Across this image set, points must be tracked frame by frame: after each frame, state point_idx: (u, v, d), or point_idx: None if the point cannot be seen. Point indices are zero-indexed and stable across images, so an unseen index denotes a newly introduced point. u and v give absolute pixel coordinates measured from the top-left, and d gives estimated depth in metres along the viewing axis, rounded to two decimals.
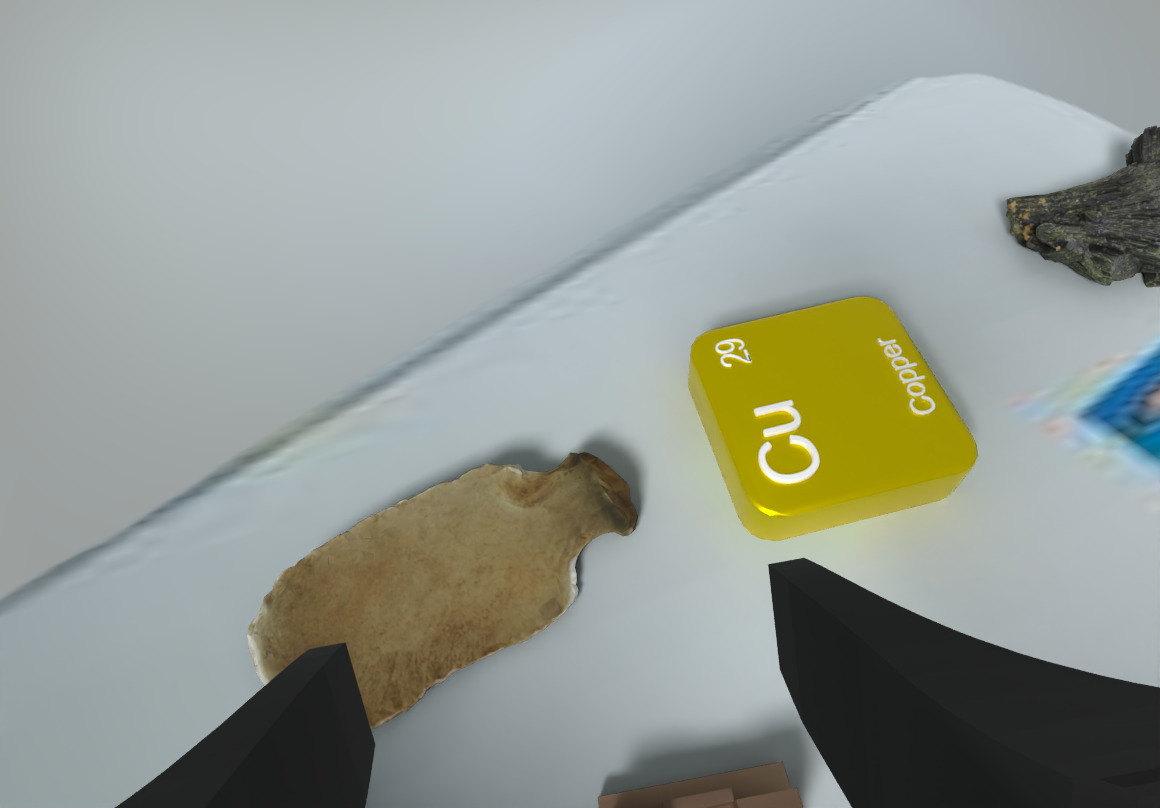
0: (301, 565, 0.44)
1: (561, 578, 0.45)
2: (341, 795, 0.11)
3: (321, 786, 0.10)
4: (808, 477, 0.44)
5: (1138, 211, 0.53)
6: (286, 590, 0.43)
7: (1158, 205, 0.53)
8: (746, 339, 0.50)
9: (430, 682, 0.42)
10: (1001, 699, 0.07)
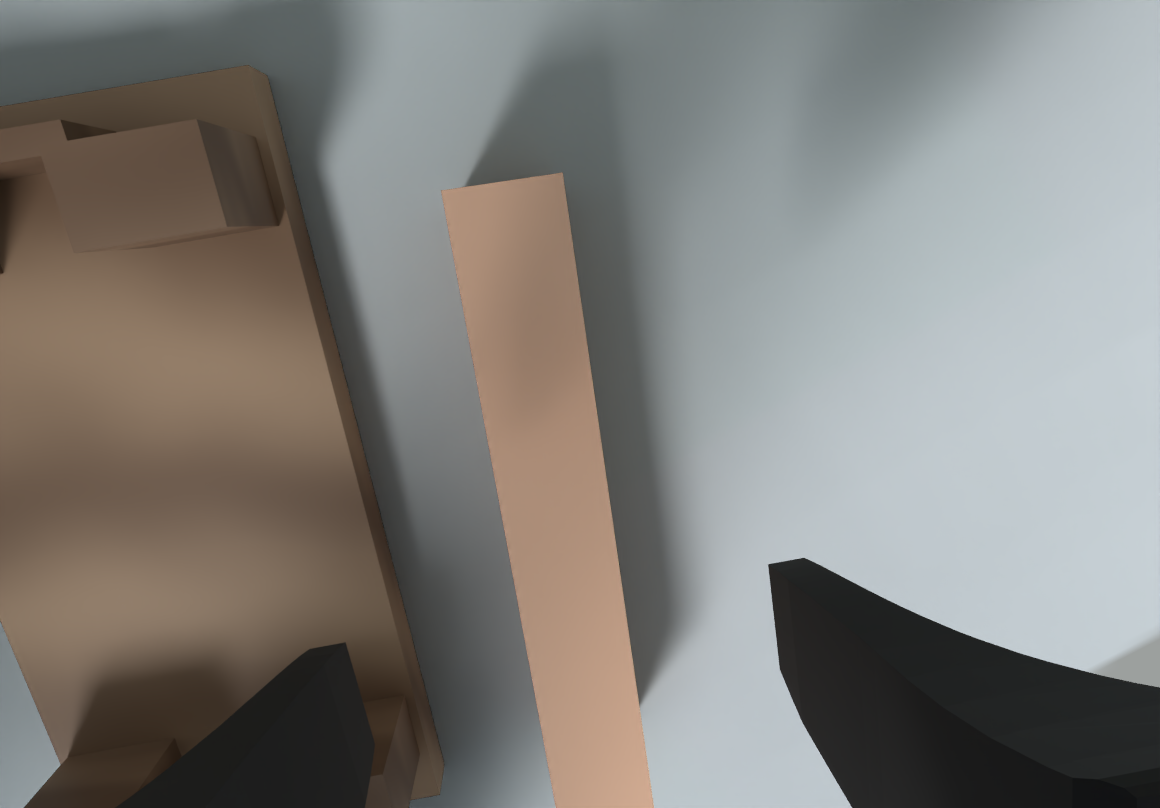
0: None
1: None
2: (341, 795, 0.11)
3: (321, 786, 0.10)
4: None
5: None
6: None
7: None
8: None
9: None
10: (1001, 699, 0.07)
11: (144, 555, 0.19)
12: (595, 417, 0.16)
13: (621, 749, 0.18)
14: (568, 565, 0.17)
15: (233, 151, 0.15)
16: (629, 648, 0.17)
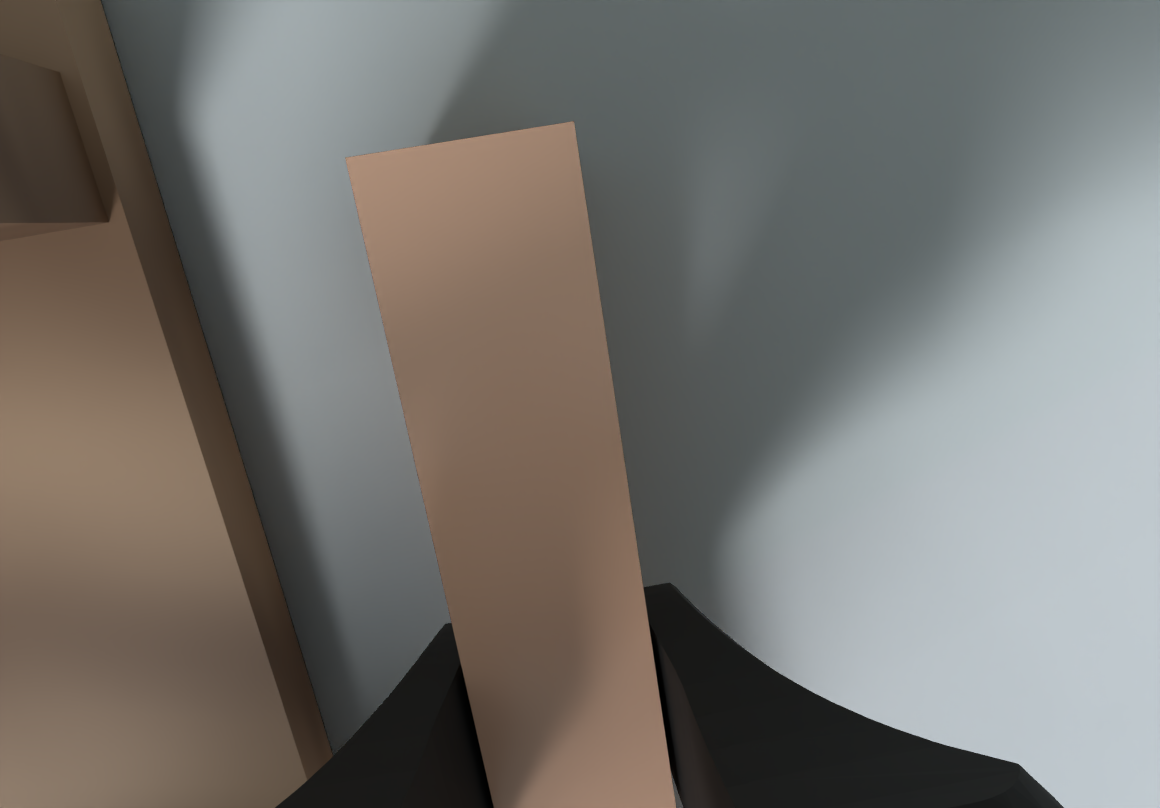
0: None
1: None
2: None
3: (479, 756, 0.10)
4: None
5: None
6: None
7: None
8: None
9: None
10: (765, 744, 0.07)
11: None
12: (634, 557, 0.09)
13: None
14: (587, 794, 0.10)
15: None
16: None
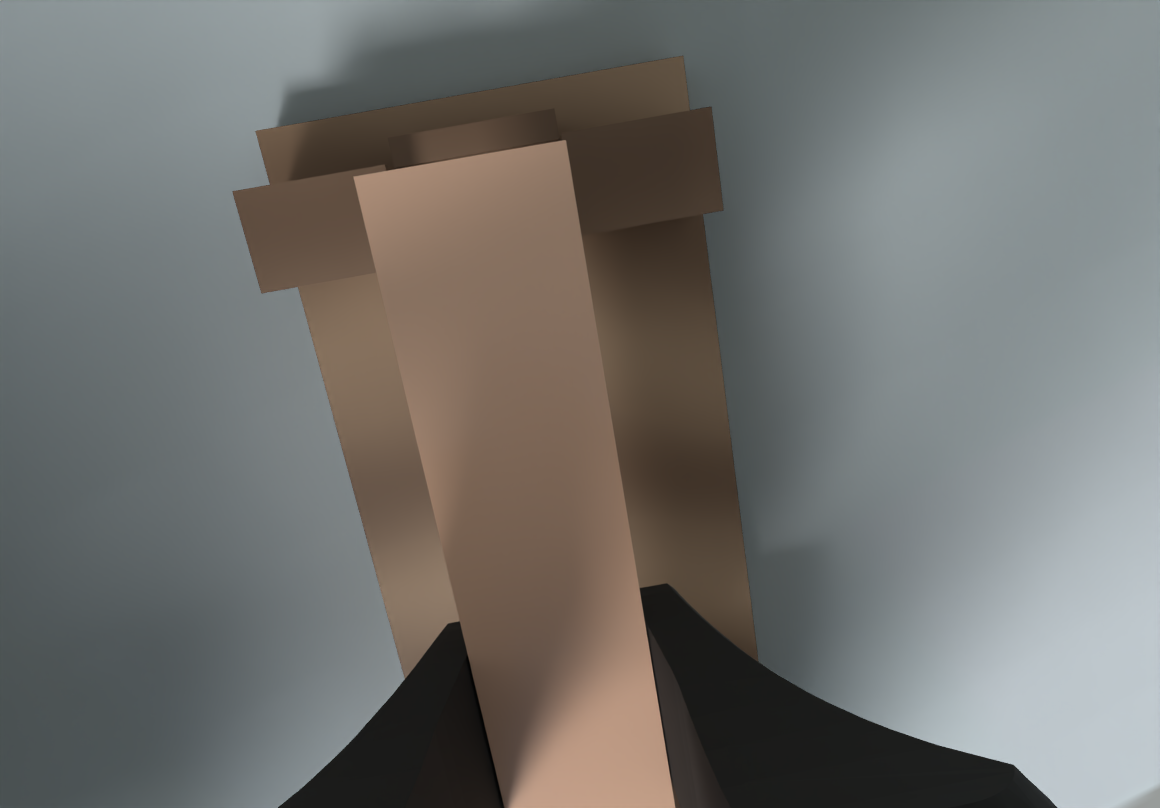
0: None
1: None
2: (494, 766, 0.11)
3: (482, 756, 0.10)
4: None
5: None
6: None
7: None
8: None
9: None
10: (760, 744, 0.07)
11: None
12: (628, 546, 0.10)
13: None
14: (588, 772, 0.11)
15: None
16: None
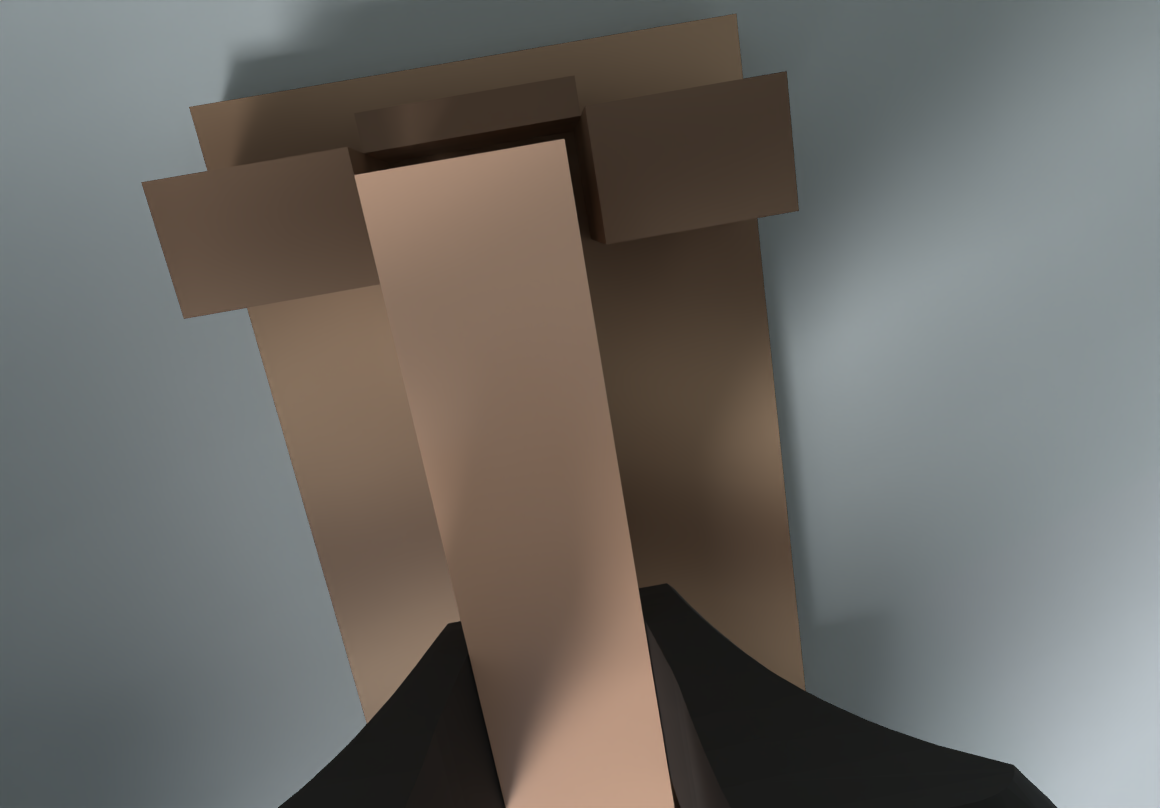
0: None
1: None
2: (494, 766, 0.11)
3: (482, 756, 0.10)
4: None
5: None
6: None
7: None
8: None
9: None
10: (760, 745, 0.07)
11: None
12: (626, 541, 0.10)
13: None
14: (586, 765, 0.11)
15: None
16: None
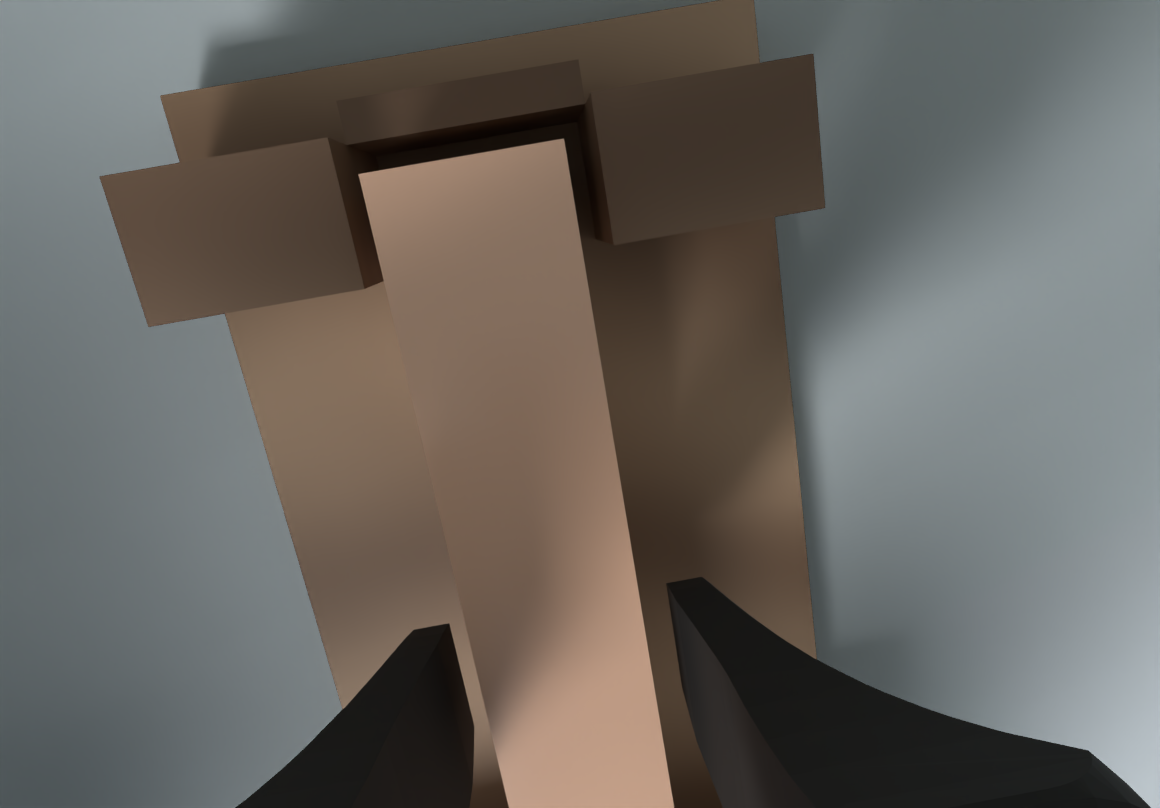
0: None
1: None
2: (456, 773, 0.11)
3: (442, 763, 0.10)
4: None
5: None
6: None
7: None
8: None
9: None
10: (821, 734, 0.07)
11: None
12: (625, 533, 0.10)
13: None
14: (585, 754, 0.11)
15: None
16: None
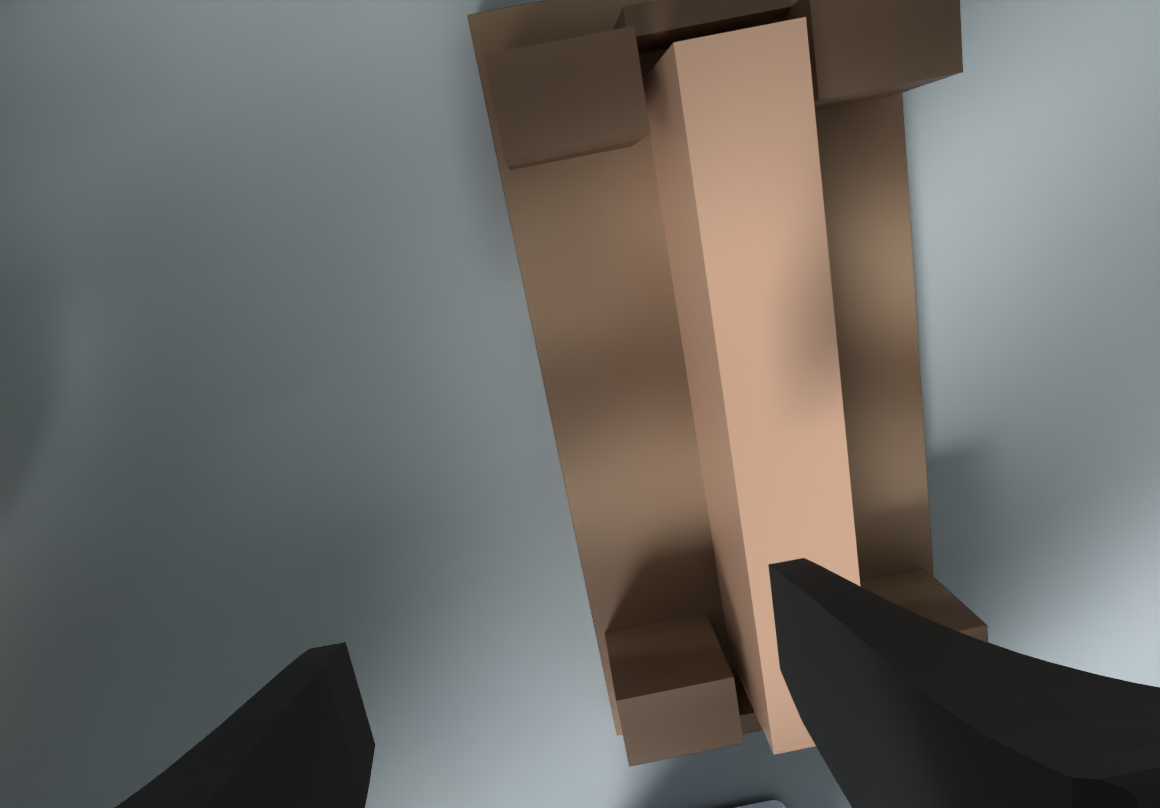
0: None
1: None
2: (341, 795, 0.11)
3: (321, 786, 0.10)
4: None
5: None
6: None
7: None
8: None
9: None
10: (1001, 699, 0.07)
11: None
12: (830, 297, 0.15)
13: None
14: (794, 465, 0.16)
15: None
16: (855, 556, 0.16)
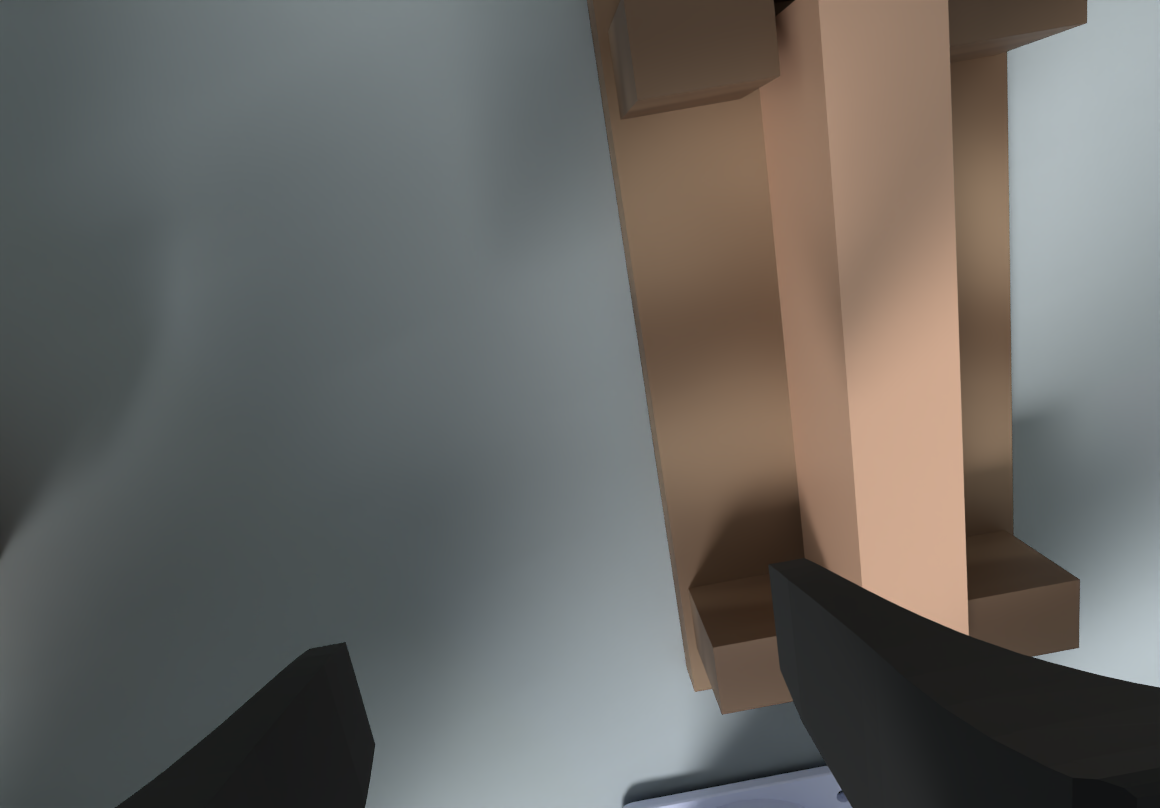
0: None
1: None
2: (341, 795, 0.11)
3: (321, 786, 0.10)
4: None
5: None
6: None
7: None
8: None
9: None
10: (1001, 700, 0.07)
11: None
12: (953, 241, 0.15)
13: (942, 615, 0.17)
14: (908, 409, 0.16)
15: None
16: (962, 502, 0.16)
